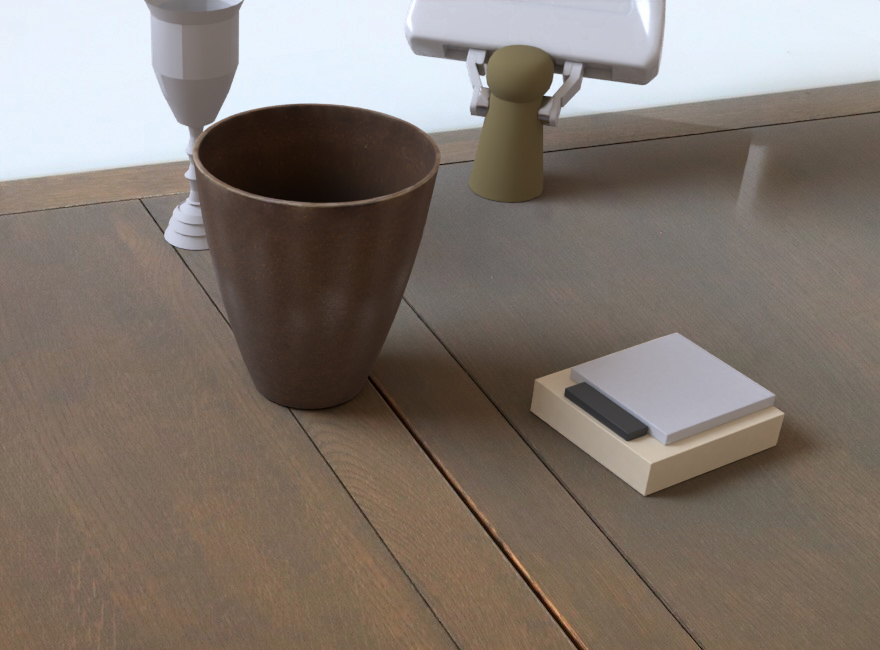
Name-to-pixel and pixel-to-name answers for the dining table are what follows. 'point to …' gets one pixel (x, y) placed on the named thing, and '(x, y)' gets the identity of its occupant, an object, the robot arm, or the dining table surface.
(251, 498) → the dining table surface
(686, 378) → the scale
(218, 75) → the chalice
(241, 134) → the flower pot
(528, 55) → the olive pawn
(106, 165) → the dining table surface
